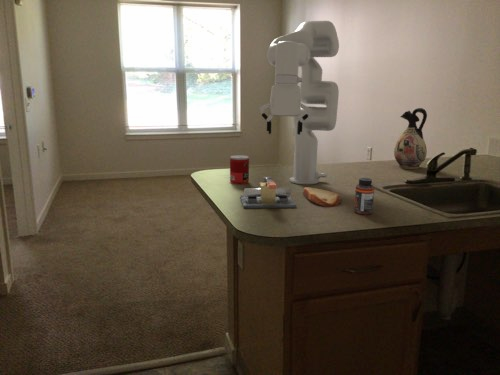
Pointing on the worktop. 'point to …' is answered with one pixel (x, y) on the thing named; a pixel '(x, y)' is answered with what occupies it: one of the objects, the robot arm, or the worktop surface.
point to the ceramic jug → (411, 142)
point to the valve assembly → (267, 197)
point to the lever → (269, 182)
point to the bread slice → (321, 197)
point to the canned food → (239, 169)
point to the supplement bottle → (364, 196)
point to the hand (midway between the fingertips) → (284, 133)
